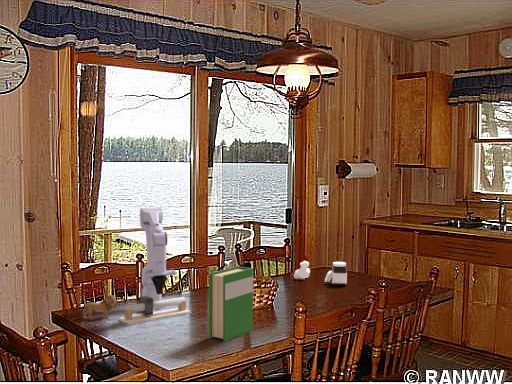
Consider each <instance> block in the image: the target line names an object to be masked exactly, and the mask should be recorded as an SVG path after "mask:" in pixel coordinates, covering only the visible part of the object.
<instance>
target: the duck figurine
mask: <svg viewBox="0 0 512 384" xmlns="http://www.w3.org/2000/svg"><path fill="white" fill-rule="evenodd" d="M299 266H300V268H299V269H296V270H295V272H293V273H294V274H293V278H294V279H295V280H306V279H305V278H307V279H308V278H309V277H310V274H311V269H310V268H308V267H310V263H309V261H306V260H303V261H302V262H299Z"/></svg>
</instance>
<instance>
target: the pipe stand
mask: <svg viewBox="0 0 512 384" xmlns="http://www.w3.org/2000/svg"><path fill="white" fill-rule="evenodd" d="M186 302H187V300H186V298H185V296H182V297H181V296H180V297H173V298H169V299H167V298H166V299H162V300H160V301H154V302H153V310H155V309H161V308H167V307H168V308H169V307H172V306H173V307H174V306H177V307H175V308H169V309H163V310H158V311H153V315H148V316H146V315H144V314H141V313H139V314H134V315H133V313H137V312H140V311H144V310H145V303H141V304H140V303H135V304H129V305H124V308H123V309H124V312H123V313H124V315H123V317H119V321H120V322H122V323H124V324H126V325H133V324H139V323H143V322H144V323H146V322H150V321H154V320H155V321H156V320H160V319H167V318H173V317H177V316H179V317H180V316H183V315H184V316H185V315H191V313H192V312H191V310H189V309H187V303H186Z"/></svg>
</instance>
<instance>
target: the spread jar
mask: <svg viewBox="0 0 512 384" xmlns="http://www.w3.org/2000/svg"><path fill="white" fill-rule="evenodd" d="M347 277H348V270H347V262H344V261H333V262H332V269H331V270H329V271H328V272H327V273H326V275H325V278H324V283H325V282H329V283H330V281H331V284H335V285H345V284H346V285H347V282H348V278H347ZM346 285H345V286H346Z"/></svg>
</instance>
